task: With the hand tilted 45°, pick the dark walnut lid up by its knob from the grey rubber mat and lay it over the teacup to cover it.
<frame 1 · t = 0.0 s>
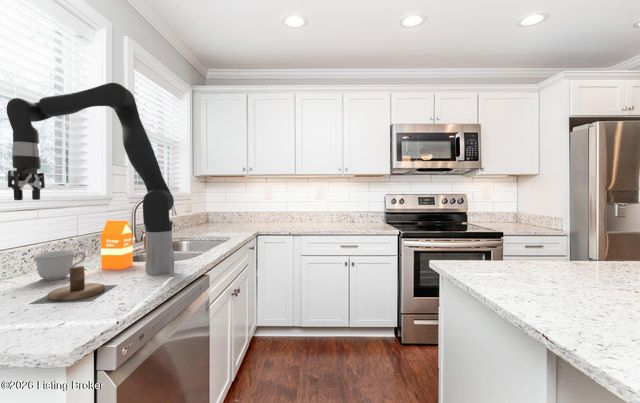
hand: (27, 200, 116), 29 cm above the countertop, tool pointing down, fingers open, 8 cm apart
teacup: (60, 280, 116), on the countertop
mortar and pestle: (159, 265, 141), on the countertop
walnut lid: (77, 293, 98), point 1 cm above the countertop, touching rubber mat
orange juice: (117, 267, 136), on the countertop
rubber mat: (77, 296, 98), on the countertop
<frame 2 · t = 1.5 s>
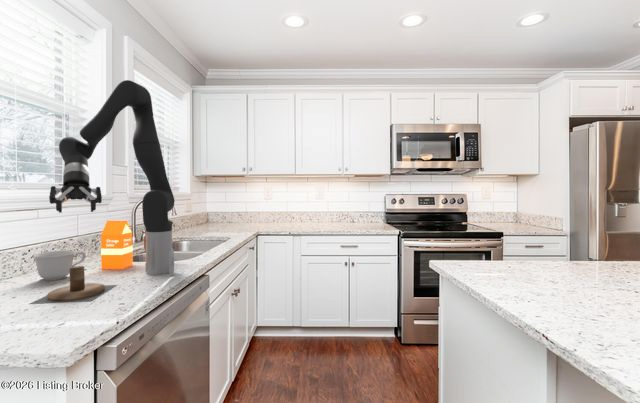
hand: (76, 210, 106), 26 cm above the countertop, tool tilted 45°, fingers open, 8 cm apart
nothing on the countertop moved.
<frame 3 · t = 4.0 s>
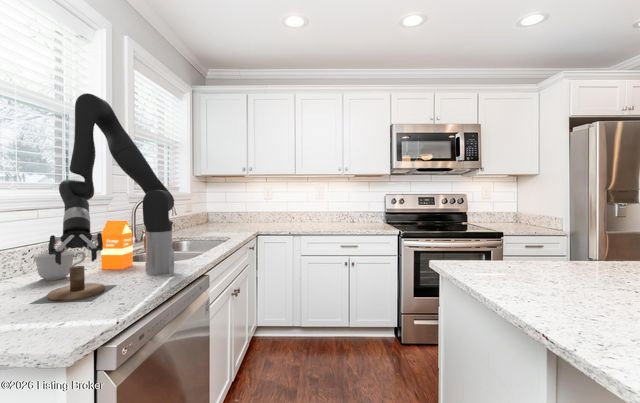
hand: (76, 261, 101), 10 cm above the countertop, tool tilted 45°, fingers open, 8 cm apart
nothing on the countertop moved.
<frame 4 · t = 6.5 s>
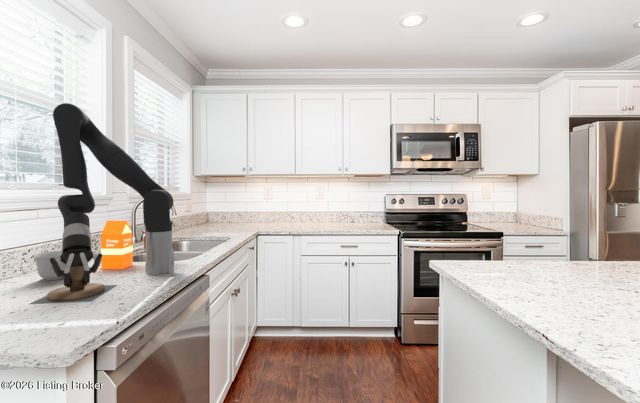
hand: (77, 284, 96), 4 cm above the countertop, tool tilted 45°, fingers closed on walnut lid, 3 cm apart
walnut lid: (77, 293, 98), point 1 cm above the countertop, touching gripper, rubber mat
everything else where it was.
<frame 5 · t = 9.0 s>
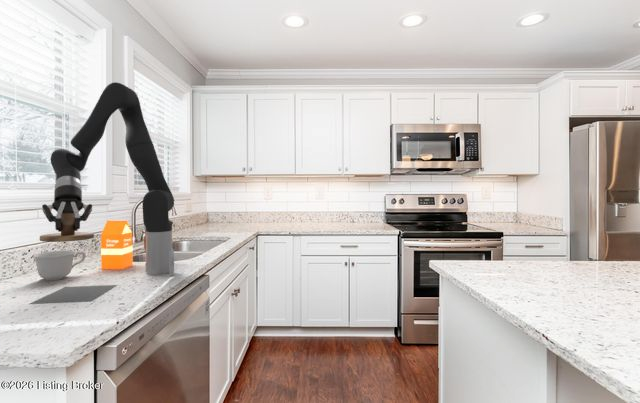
hand: (68, 229, 102), 20 cm above the countertop, tool tilted 45°, fingers closed on walnut lid, 3 cm apart
walnut lid: (68, 238, 104), point 17 cm above the countertop, touching gripper
everything else where it was.
when the fingers open (15 cm above the countertop, at t = 11.5 s): walnut lid drops 1 cm, resting on teacup.
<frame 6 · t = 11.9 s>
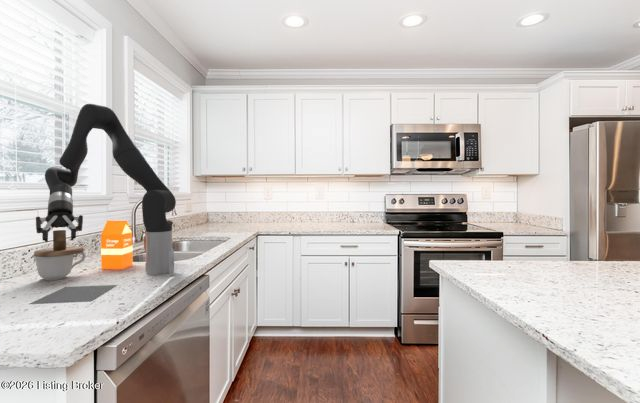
hand: (59, 239, 114), 15 cm above the countertop, tool tilted 45°, fingers open, 6 cm apart
teacup: (60, 280, 116), on the countertop, touching walnut lid
walnut lid: (59, 253, 115), point 10 cm above the countertop, touching teacup
everything else where it was.
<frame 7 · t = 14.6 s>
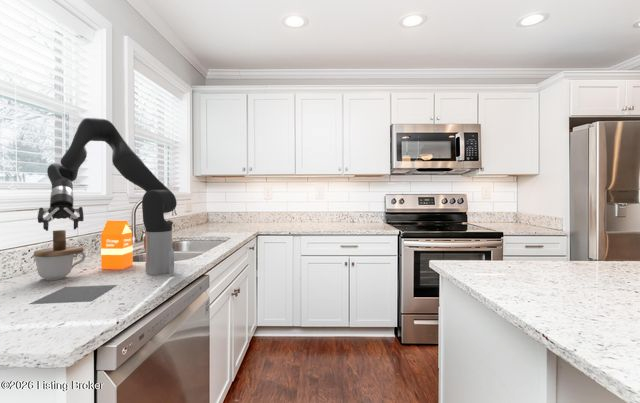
hand: (61, 228, 124), 18 cm above the countertop, tool tilted 45°, fingers open, 8 cm apart
nothing on the countertop moved.
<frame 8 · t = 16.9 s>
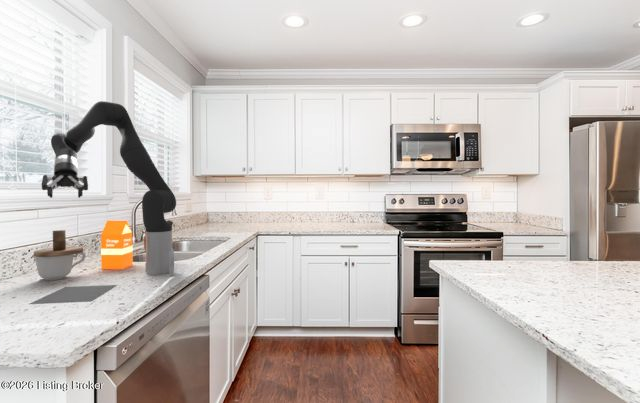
hand: (65, 196, 122), 31 cm above the countertop, tool tilted 45°, fingers open, 8 cm apart
nothing on the countertop moved.
at the end: walnut lid 0.2 cm from the teacup (horizontally); walnut lid point 10.0 cm above the countertop; walnut lid tilted 0° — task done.
